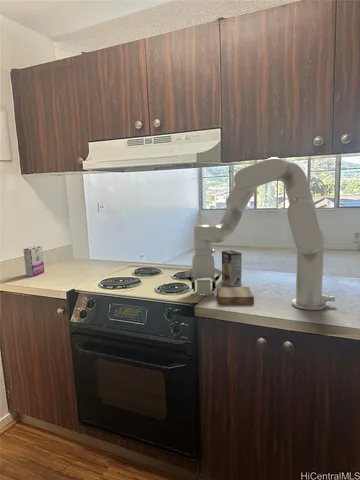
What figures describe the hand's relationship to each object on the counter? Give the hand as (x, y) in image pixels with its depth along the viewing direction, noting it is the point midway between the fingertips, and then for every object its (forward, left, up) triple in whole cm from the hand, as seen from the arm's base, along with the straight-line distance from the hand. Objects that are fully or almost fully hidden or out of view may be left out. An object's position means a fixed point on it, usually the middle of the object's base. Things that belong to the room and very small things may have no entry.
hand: (203, 290), depth 148 cm
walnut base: (-13, +8, -1) cm, 15 cm away
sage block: (0, 0, -1) cm, 1 cm away
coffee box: (-14, -15, -2) cm, 21 cm away
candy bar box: (+99, -40, -2) cm, 107 cm away
